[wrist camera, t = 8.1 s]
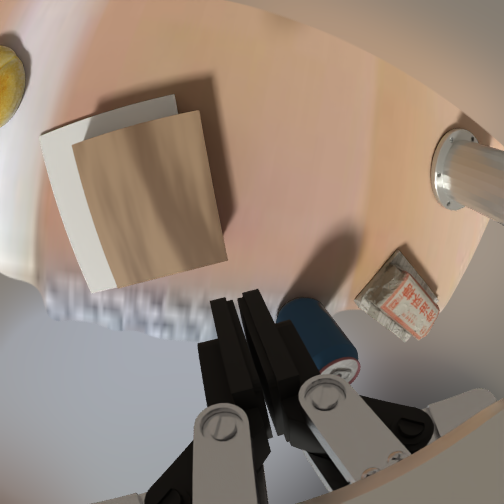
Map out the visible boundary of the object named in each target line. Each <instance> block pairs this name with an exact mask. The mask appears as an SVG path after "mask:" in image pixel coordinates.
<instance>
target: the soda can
mask: <svg viewBox="0 0 504 504" xmlns="http://www.w3.org/2000/svg"><path fill="white" fill-rule="evenodd" d="M289 319H290V320H291V321H292V323H293V324H294V326H295V328H296V330H297V332H298V334H299V335H300V337H301V339H302V341H303V343H304V344H305V346H306V348H307V350H308V352H309V354H310V355H311V357H312V359H313V361H314V363H315V364H316V366H317V368H318V370H319V372H320V374H332V375H337V376H339V377H341V378H343V379H344V380H345V381H347V382H348V383H349V384H351V383H352V382H353V381H354V380H355V379H356V377H357V376H358V374H359V372H360V363H359V361H358V353H357V350H356V348H355V347H354V346H353V344H352V343H351V342H350V340H349V339H348V338H347V336H346V335H345V334H344V332H343V331H342V330H341V328H340V327H339V326H338V325H337V323H336V322H335V321H334V319H333V318H332V317H331V315H330V314H329V313H328V312H327V310H326V309H325V308H324V306H323V305H322V304H321V303H320V302H319V301H317V300H315V299H311V298H296V299H294V300H291V301H290V302H288V303H287V304H285V305H284V306H283V307H282V309H281V310H280V312H279V314H278V317H277V320H276V323H279V322H282V321H286V320H289Z"/></svg>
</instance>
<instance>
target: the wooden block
mask: <svg viewBox="0 0 504 504" xmlns="http://www.w3.org/2000/svg"><path fill="white" fill-rule="evenodd" d="M72 149H73V153H74V157H75V161H76V165H77V169H78V173H79V176H80V180H81V183H82V187H83V190H84V194H85V197H86V200H87V204H88V207H89V210H90V213H91V216H92V220H93V223H94V226H95V229H96V232H97V234H98V237H99V240H100V243H101V246H102V249H103V251H104V254H105V257H106V259H107V262H108V265H109V267H110V270H111V272H112V275H113V278H114V280H115V283H116V285H117V287H118V288H121V287H125V286H129V285H133V284H137V283H141V282H145V281H149V280H153V279H157V278H161V277H165V276H169V275H173V274H177V273H181V272H184V271H188V270H192V269H196V268H200V267H204V266H208V265H212V264H216V263H220V262H224V261H228V259H227V254H226V249H225V244H224V239H223V234H222V229H221V224H220V219H219V214H218V209H217V204H216V199H215V193H214V188H213V183H212V178H211V173H210V167H209V162H208V156H207V151H206V146H205V140H204V135H203V129H202V123H201V118H200V112H199V110H195V111H190V112H185V113H181V114H176V115H172V116H167V117H163V118H159V119H155V120H151V121H147V122H143V123H139V124H136V125H132V126H129V127H125V128H122V129H118V130H115V131H111V132H108V133H105V134H102V135H99V136H96V137H93V138H90V139H87V140H84V141H81V142H78V143H75V144H73V145H72Z"/></svg>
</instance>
